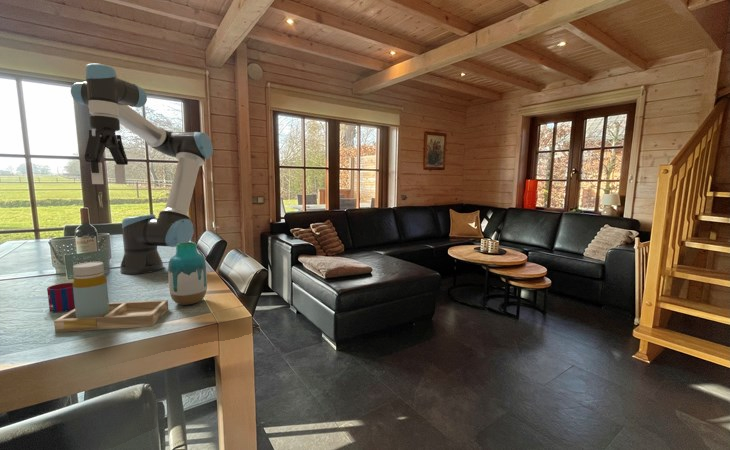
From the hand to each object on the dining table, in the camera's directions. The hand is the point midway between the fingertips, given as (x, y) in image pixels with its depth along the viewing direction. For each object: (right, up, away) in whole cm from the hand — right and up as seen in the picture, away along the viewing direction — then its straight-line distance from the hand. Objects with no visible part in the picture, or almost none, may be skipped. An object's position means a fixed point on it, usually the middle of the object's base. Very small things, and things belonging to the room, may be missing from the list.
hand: (110, 184), depth 108 cm
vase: (+28, -38, -4) cm, 48 cm away
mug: (-5, -38, -8) cm, 40 cm away
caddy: (+15, -40, -17) cm, 46 cm away
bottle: (+10, -39, -19) cm, 44 cm away
